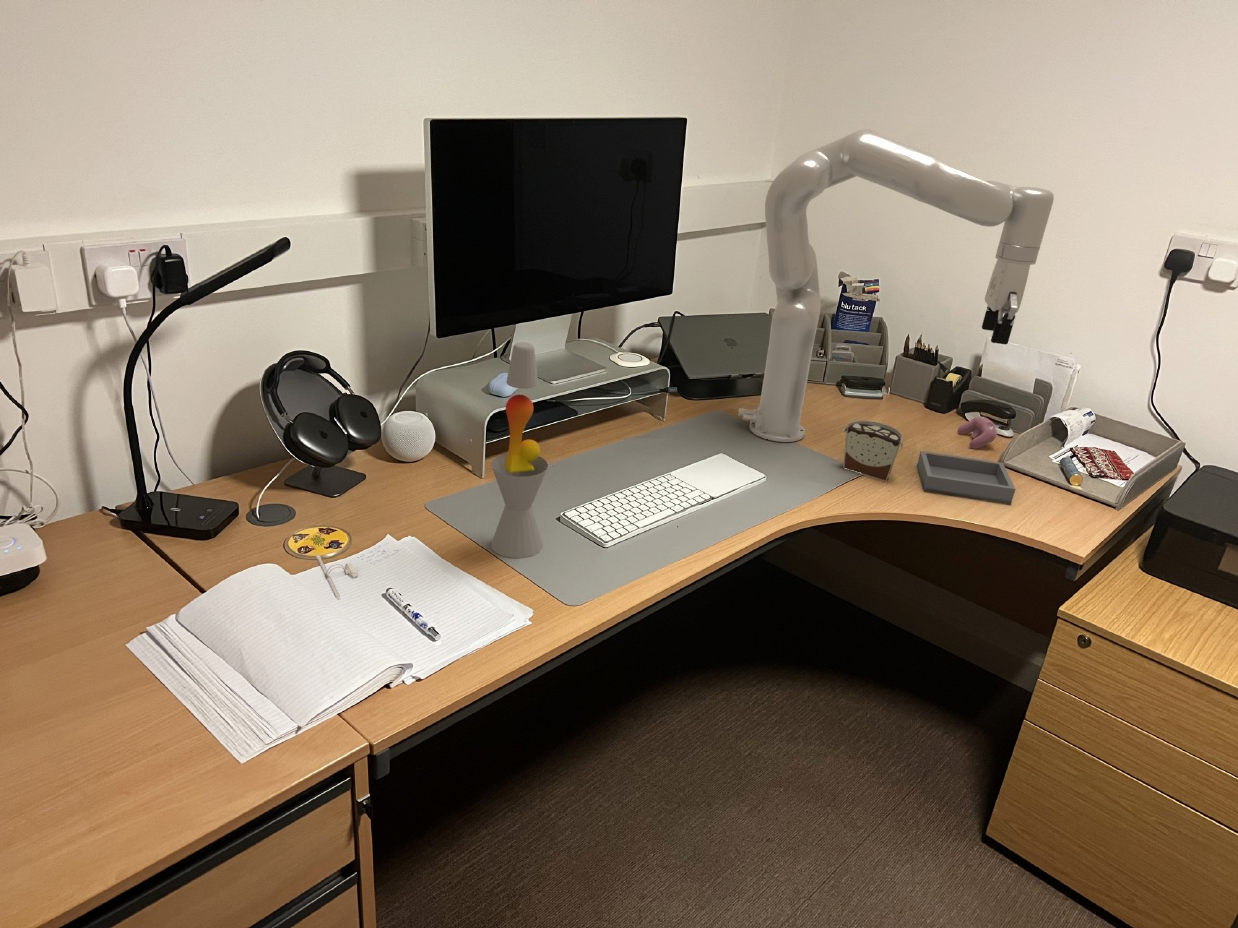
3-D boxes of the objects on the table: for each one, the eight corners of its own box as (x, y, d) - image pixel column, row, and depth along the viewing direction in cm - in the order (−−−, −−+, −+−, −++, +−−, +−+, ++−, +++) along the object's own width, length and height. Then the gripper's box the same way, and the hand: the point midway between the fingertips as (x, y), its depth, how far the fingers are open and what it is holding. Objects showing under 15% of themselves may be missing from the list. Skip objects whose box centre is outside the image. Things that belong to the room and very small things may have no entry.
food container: (902, 474, 186) (912, 430, 181) (893, 484, 181) (903, 439, 176) (846, 457, 191) (854, 414, 187) (836, 466, 186) (845, 423, 182)
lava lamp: (498, 562, 142) (503, 355, 127) (483, 535, 149) (486, 336, 134) (551, 554, 146) (562, 352, 131) (534, 527, 153) (542, 334, 138)
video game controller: (983, 456, 202) (1004, 433, 199) (968, 447, 201) (989, 423, 198) (969, 439, 211) (989, 416, 208) (954, 430, 210) (974, 407, 207)
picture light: (314, 557, 140) (314, 545, 139) (342, 552, 142) (342, 540, 141) (337, 603, 129) (336, 591, 128) (366, 597, 131) (366, 585, 131)
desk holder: (923, 491, 179) (927, 476, 177) (916, 465, 190) (920, 450, 189) (1010, 504, 176) (1015, 489, 175) (998, 477, 188) (1002, 462, 186)
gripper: (988, 242, 182) (967, 323, 189) (1006, 259, 166) (983, 346, 174) (1026, 247, 181) (1003, 327, 188) (1048, 264, 165) (1022, 351, 173)
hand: (993, 336), depth 181 cm, fingers open, 9 cm apart
